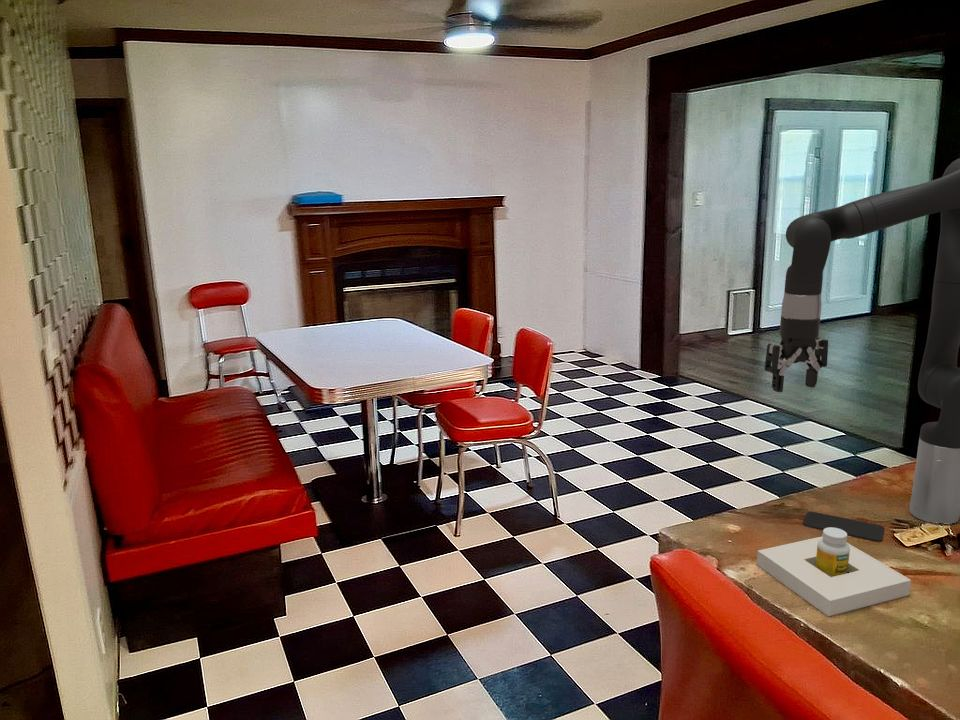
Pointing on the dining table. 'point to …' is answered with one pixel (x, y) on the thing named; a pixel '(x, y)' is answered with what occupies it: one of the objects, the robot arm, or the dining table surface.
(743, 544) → the dining table surface
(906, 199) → the robot arm
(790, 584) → the socket block
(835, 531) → the supplement bottle
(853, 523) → the phone
